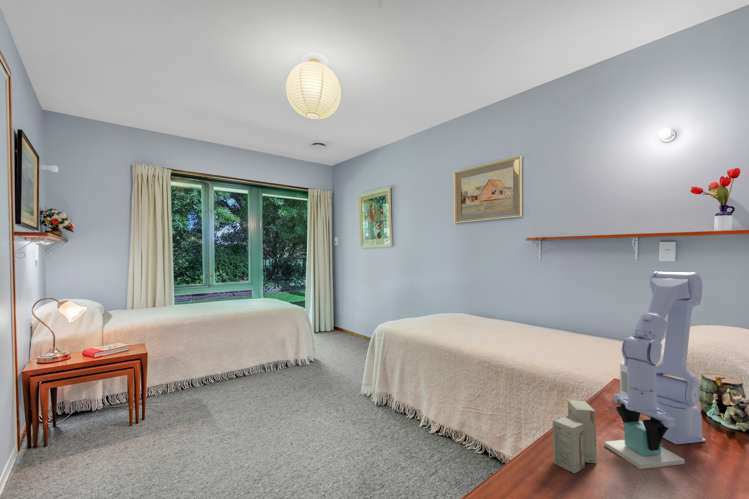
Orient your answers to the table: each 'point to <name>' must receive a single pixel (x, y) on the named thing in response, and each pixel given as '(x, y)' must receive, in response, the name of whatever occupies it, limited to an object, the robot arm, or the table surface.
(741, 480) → the table surface
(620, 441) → the post board
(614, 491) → the table surface
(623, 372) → the spray bottle
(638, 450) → the teal brick on tray
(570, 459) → the skincare box
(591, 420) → the skincare box
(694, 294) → the robot arm
